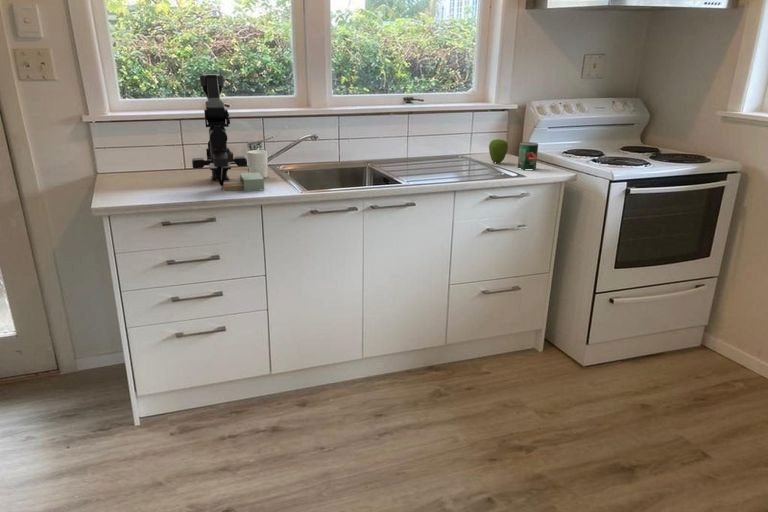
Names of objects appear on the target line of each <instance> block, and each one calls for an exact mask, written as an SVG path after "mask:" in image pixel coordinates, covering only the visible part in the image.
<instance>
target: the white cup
mask: <svg viewBox="0 0 768 512" xmlns="http://www.w3.org/2000/svg"><path fill="white" fill-rule="evenodd" d="M246 155H247V157H246V158H247V166H248V172H249V173H259V174H260V175H261V176H262V177H263V179H265V178H267V177H268V169H269V168H268V166H269V165H268V159H269V158H268V157H269V156H268V151H267V150H264V149H263V150H262V149H257V150H256V149H253V150H248V151H246ZM264 177H265V178H264Z"/></svg>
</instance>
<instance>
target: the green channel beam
mask: <svg viewBox="0 0 768 512" xmlns="http://www.w3.org/2000/svg"><path fill="white" fill-rule="evenodd" d="M239 180H240V181H239V182H241V181H243V182H244V192H248V190H253V191H261V190H260V189H264V190H265V178H263V177H262V176H261V175H260V174H259V173H250V172H249V173H248V172H246V173H245V172H244V173H242V172H241V173H239Z"/></svg>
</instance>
